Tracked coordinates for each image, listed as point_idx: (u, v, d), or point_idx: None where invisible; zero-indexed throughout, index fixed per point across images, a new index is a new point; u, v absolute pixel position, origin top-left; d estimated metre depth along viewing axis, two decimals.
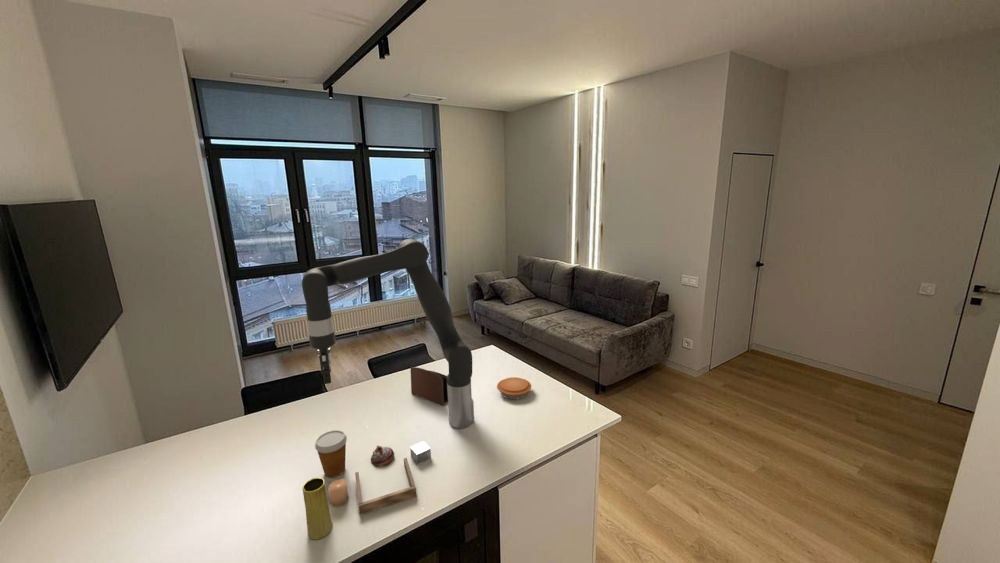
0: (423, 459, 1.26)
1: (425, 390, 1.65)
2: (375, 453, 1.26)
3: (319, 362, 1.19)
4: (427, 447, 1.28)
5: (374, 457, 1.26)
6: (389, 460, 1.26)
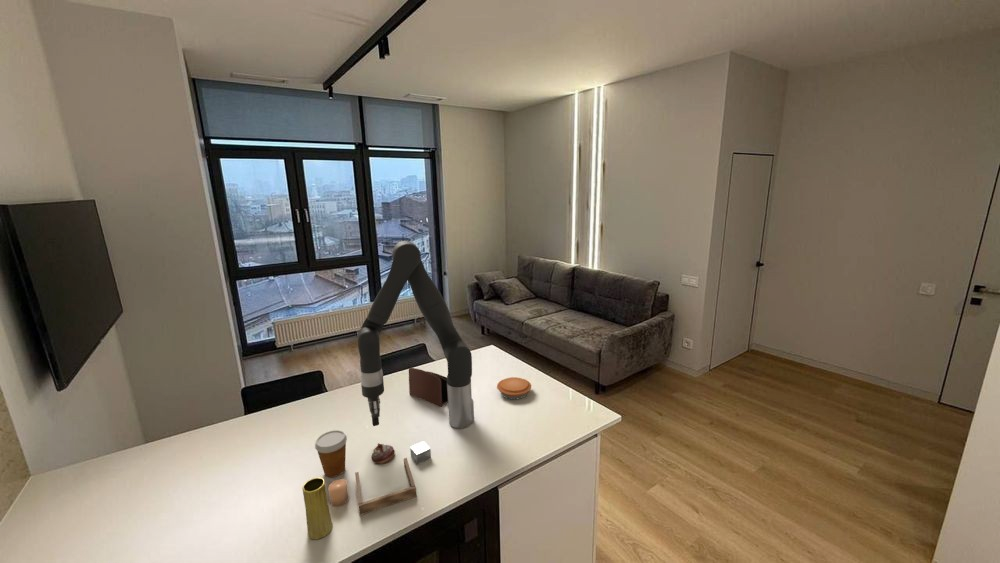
0: (423, 459, 1.26)
1: (423, 391, 1.64)
2: (376, 451, 1.27)
3: (370, 409, 1.34)
4: (427, 447, 1.28)
5: (375, 455, 1.27)
6: (389, 458, 1.27)
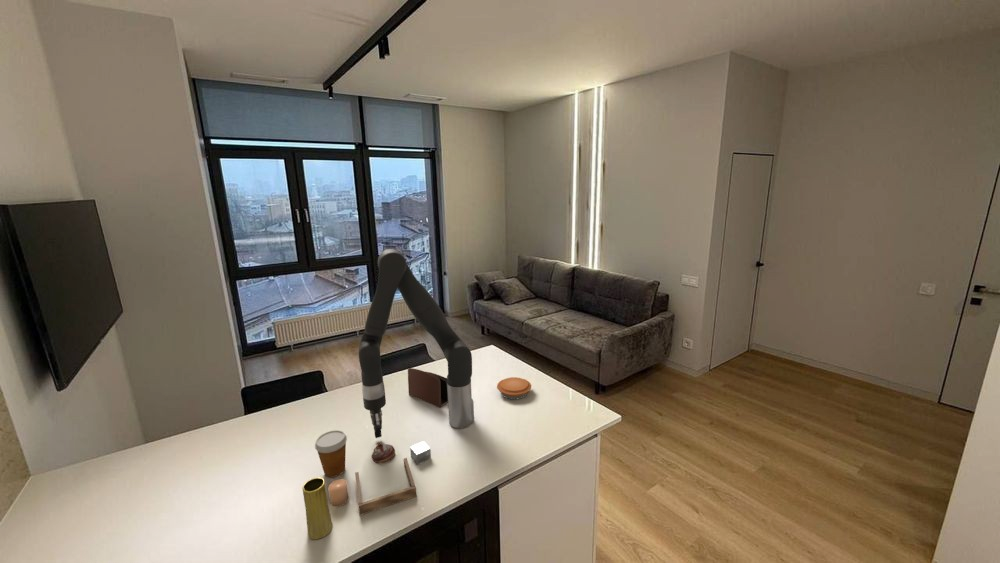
0: (423, 459, 1.26)
1: (423, 391, 1.63)
2: (376, 450, 1.28)
3: (372, 422, 1.34)
4: (427, 447, 1.28)
5: (375, 454, 1.28)
6: (390, 457, 1.27)
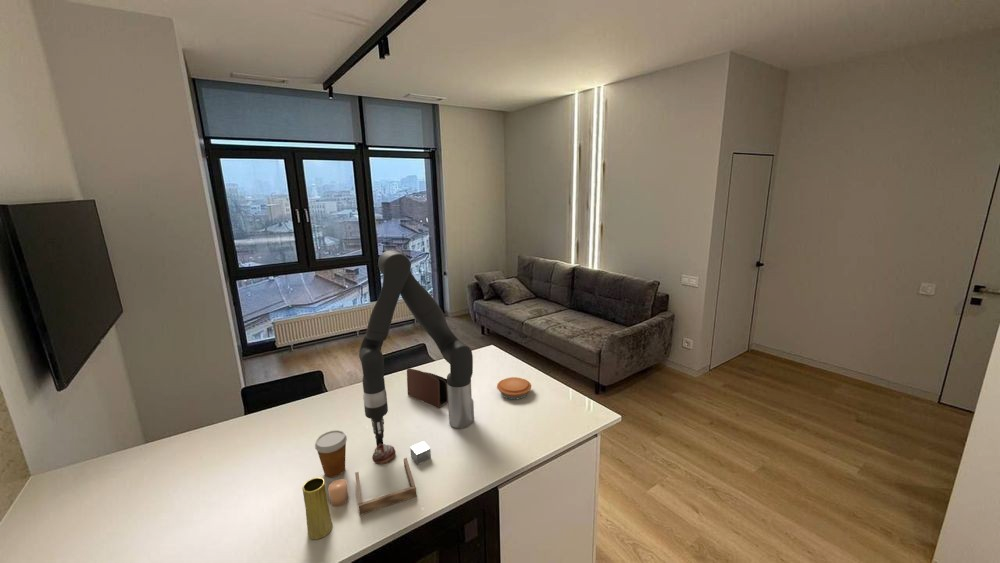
0: (423, 459, 1.26)
1: (422, 392, 1.63)
2: (377, 451, 1.27)
3: (373, 430, 1.29)
4: (427, 447, 1.28)
5: (375, 455, 1.27)
6: (390, 458, 1.27)
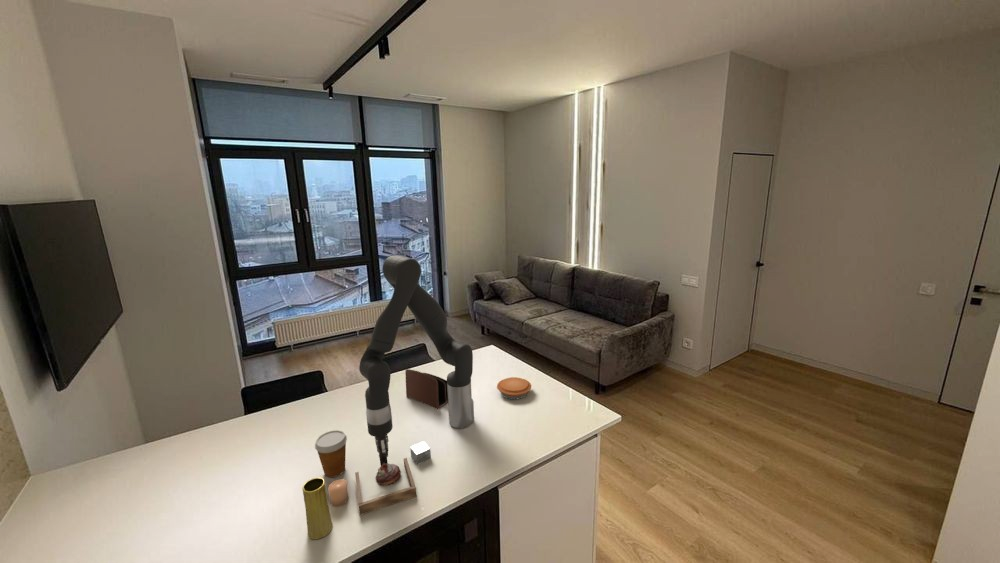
0: (423, 459, 1.26)
1: (420, 392, 1.62)
2: (380, 471, 1.18)
3: (377, 449, 1.20)
4: (427, 447, 1.28)
5: (379, 475, 1.18)
6: (394, 479, 1.17)
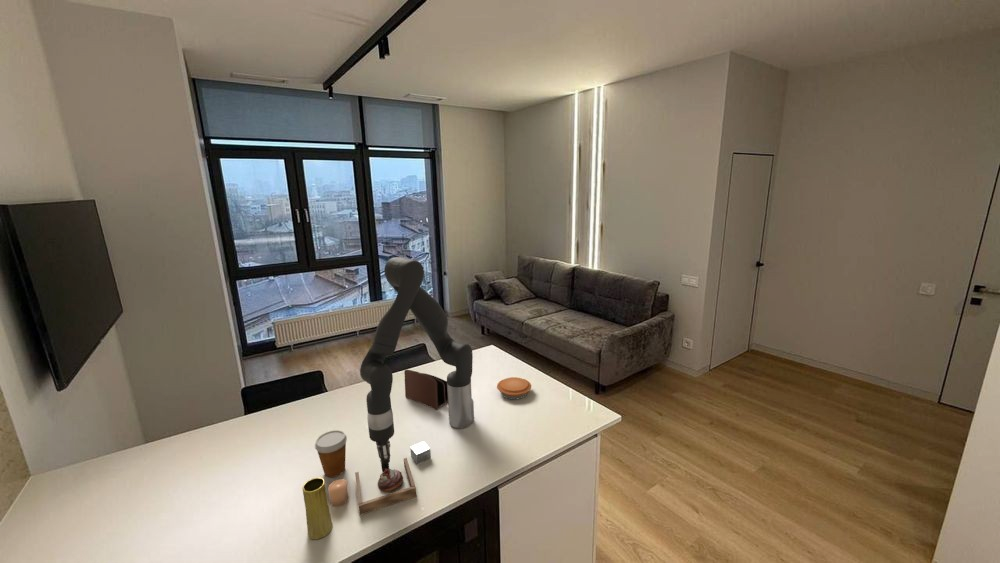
0: (423, 459, 1.26)
1: (419, 393, 1.62)
2: (382, 477, 1.15)
3: (379, 454, 1.17)
4: (427, 447, 1.28)
5: (381, 481, 1.15)
6: (397, 485, 1.15)
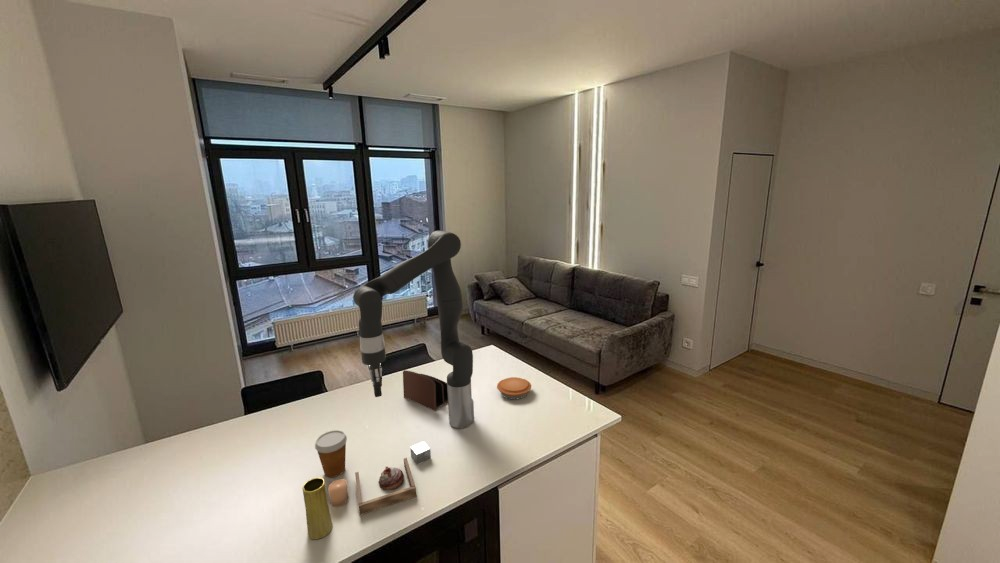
0: (423, 459, 1.26)
1: (418, 394, 1.61)
2: (383, 475, 1.16)
3: (371, 378, 1.22)
4: (427, 447, 1.28)
5: (382, 479, 1.16)
6: (398, 484, 1.15)
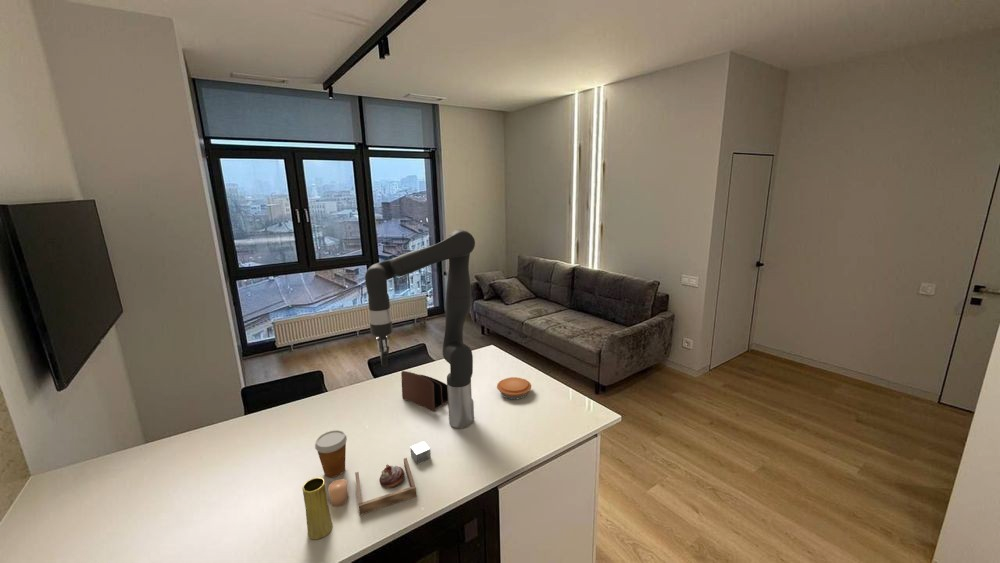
0: (423, 459, 1.26)
1: (416, 395, 1.61)
2: (384, 473, 1.17)
3: (379, 349, 1.34)
4: (427, 447, 1.28)
5: (383, 477, 1.17)
6: (398, 482, 1.16)
